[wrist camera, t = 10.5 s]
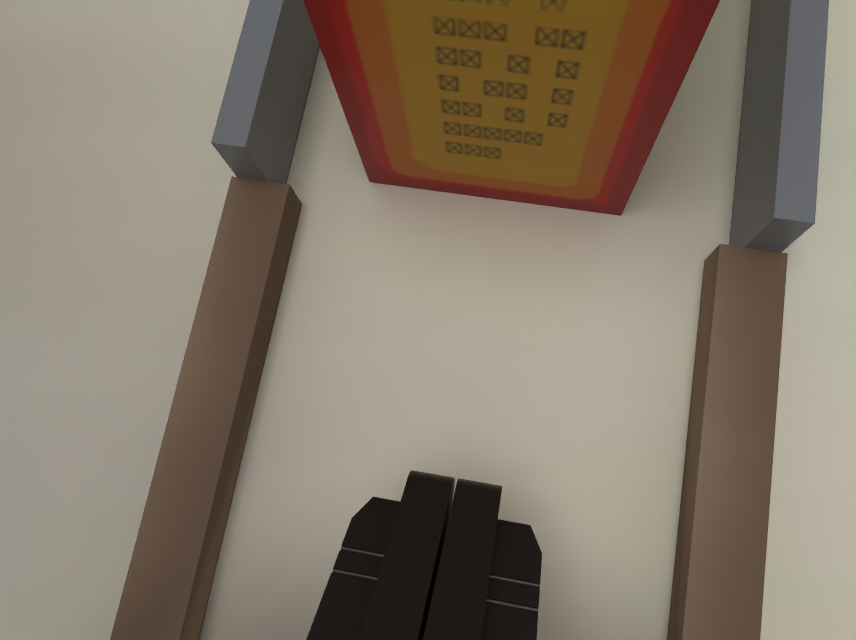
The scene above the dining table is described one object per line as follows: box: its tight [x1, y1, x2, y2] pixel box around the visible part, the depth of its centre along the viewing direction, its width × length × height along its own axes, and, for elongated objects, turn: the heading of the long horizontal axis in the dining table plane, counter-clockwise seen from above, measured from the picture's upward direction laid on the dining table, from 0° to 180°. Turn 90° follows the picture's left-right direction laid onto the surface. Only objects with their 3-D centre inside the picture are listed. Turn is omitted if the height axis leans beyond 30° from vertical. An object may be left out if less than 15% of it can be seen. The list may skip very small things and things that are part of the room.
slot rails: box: [110, 177, 787, 640], centre depth 16 cm, size 13×15×1 cm
